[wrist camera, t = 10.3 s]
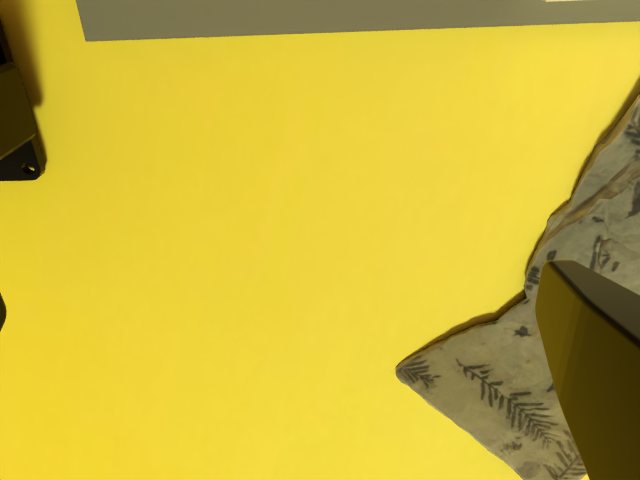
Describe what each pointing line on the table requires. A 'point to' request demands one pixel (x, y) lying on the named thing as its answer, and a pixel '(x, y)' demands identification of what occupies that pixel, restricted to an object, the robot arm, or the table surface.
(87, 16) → the building board
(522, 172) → the table surface
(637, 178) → the fossil rock
